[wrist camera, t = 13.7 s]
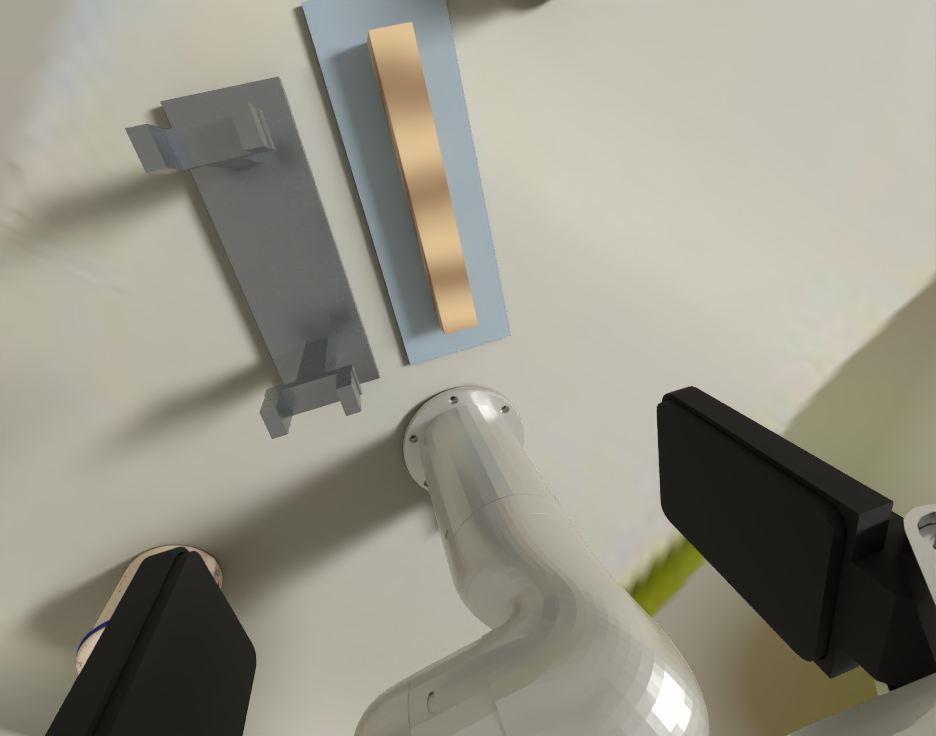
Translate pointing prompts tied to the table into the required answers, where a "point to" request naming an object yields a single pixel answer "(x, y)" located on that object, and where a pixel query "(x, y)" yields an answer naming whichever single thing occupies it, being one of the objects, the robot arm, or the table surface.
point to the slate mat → (377, 173)
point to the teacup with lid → (109, 609)
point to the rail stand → (270, 239)
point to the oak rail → (422, 172)
